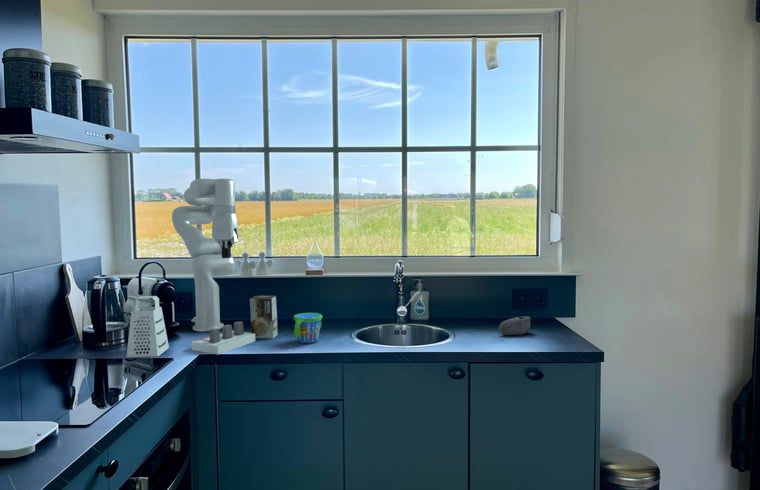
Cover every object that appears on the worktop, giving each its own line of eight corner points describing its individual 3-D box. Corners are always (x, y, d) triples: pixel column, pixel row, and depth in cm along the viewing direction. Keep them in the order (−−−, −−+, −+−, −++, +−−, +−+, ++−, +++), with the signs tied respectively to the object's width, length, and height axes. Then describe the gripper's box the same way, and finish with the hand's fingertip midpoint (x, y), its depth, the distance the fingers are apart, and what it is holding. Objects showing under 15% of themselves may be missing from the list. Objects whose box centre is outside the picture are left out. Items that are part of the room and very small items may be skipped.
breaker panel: (191, 349, 173) (191, 341, 173) (230, 337, 190) (230, 329, 190) (217, 354, 167) (217, 345, 167) (255, 341, 184) (255, 333, 184)
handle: (208, 342, 171) (208, 329, 171) (215, 339, 174) (214, 327, 174) (214, 343, 170) (214, 330, 170) (221, 340, 173) (220, 328, 173)
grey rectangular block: (221, 338, 177) (220, 326, 176) (227, 336, 180) (227, 324, 179) (227, 339, 175) (226, 327, 175) (233, 336, 178) (233, 325, 178)
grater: (157, 356, 165) (155, 299, 164) (126, 357, 165) (123, 300, 163) (169, 347, 176) (166, 294, 174) (139, 348, 175) (137, 294, 174)
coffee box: (278, 334, 193) (277, 295, 192) (273, 339, 187) (272, 298, 186) (256, 334, 194) (255, 295, 193) (250, 338, 188) (249, 298, 187)
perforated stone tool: (501, 337, 187) (502, 320, 186) (495, 334, 192) (495, 317, 192) (535, 334, 191) (535, 317, 191) (527, 331, 196) (527, 315, 196)
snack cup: (310, 335, 193) (310, 310, 192) (331, 338, 187) (331, 312, 187) (284, 344, 179) (283, 317, 179) (306, 348, 174) (305, 320, 173)
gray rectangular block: (232, 334, 182) (232, 322, 182) (238, 332, 185) (238, 321, 185) (238, 335, 181) (238, 323, 180) (244, 333, 184) (244, 321, 183)
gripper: (203, 210, 185) (205, 257, 186) (232, 210, 178) (233, 259, 179) (218, 210, 192) (219, 256, 193) (246, 210, 185) (247, 258, 186)
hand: (226, 257), depth 186 cm, fingers closed
